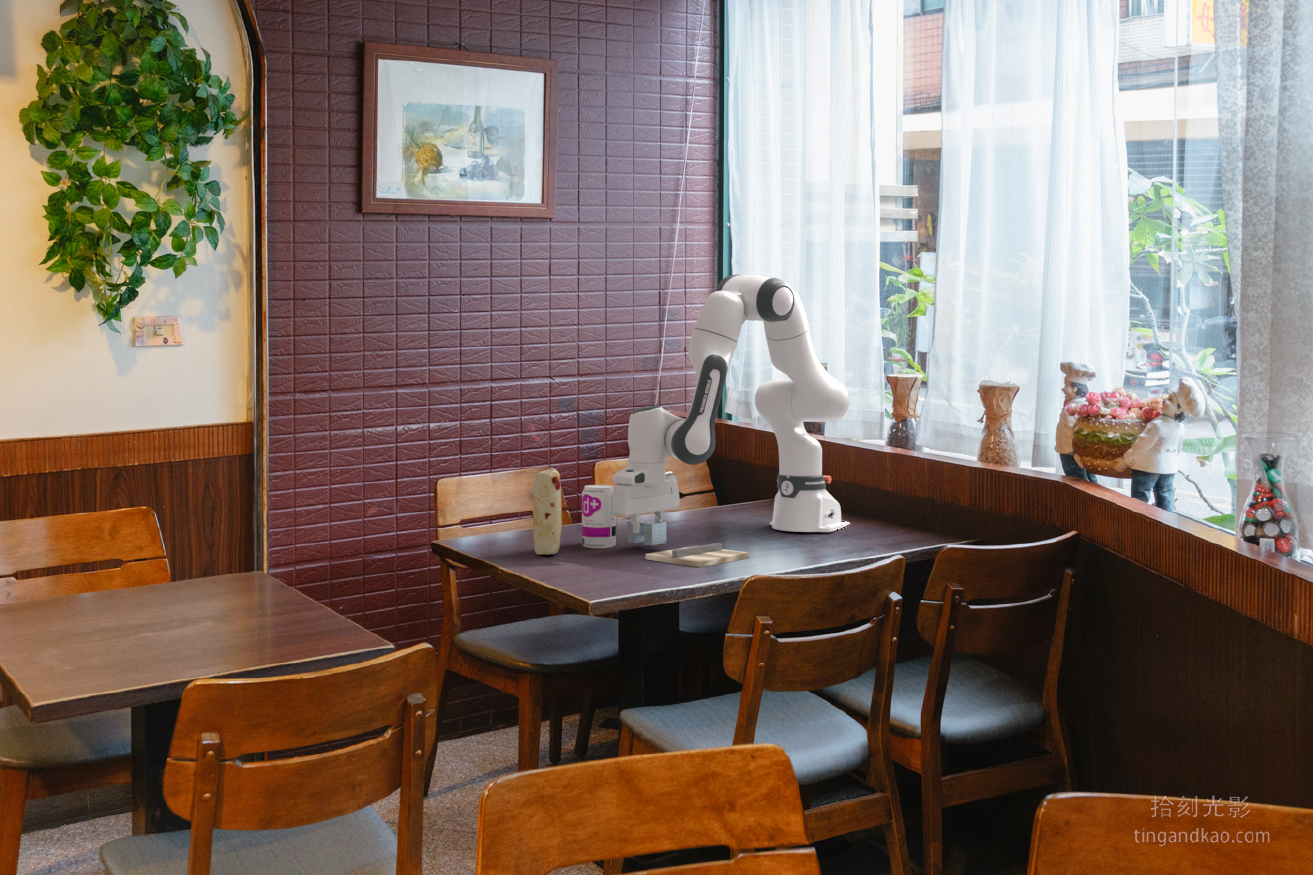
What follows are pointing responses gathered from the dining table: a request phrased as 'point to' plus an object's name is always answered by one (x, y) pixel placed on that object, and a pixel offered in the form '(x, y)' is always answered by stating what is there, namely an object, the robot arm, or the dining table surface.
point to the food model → (547, 512)
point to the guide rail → (696, 550)
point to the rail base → (698, 557)
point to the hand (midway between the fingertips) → (646, 531)
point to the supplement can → (598, 517)
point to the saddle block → (648, 532)
